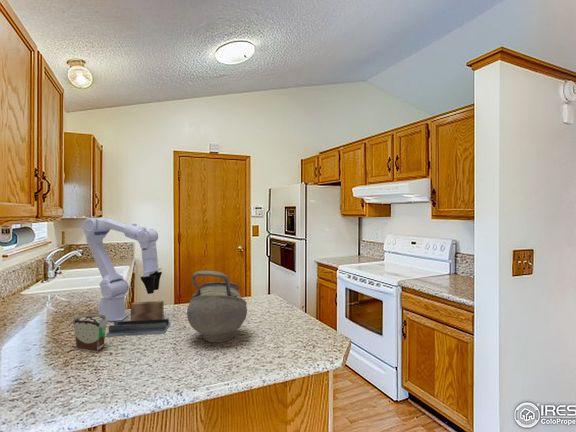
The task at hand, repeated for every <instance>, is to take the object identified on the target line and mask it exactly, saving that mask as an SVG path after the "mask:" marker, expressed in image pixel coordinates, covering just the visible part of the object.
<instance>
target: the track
mask: <svg viewBox="0 0 576 432" xmlns="http://www.w3.org/2000/svg"><path fill="white" fill-rule="evenodd" d="M170 325H171V321H170V319H169V318H164V319H153V320H134V321H131V320H120V321H113V325H109V326H108V332H107V333H105V338H107V337H108V338H109V337H123V336H125V335H128V336H141V335H142V336H145V335H160V334H161V335H162V334H165V333H166V331H167V330H168V329H169V327H170Z"/></svg>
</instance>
